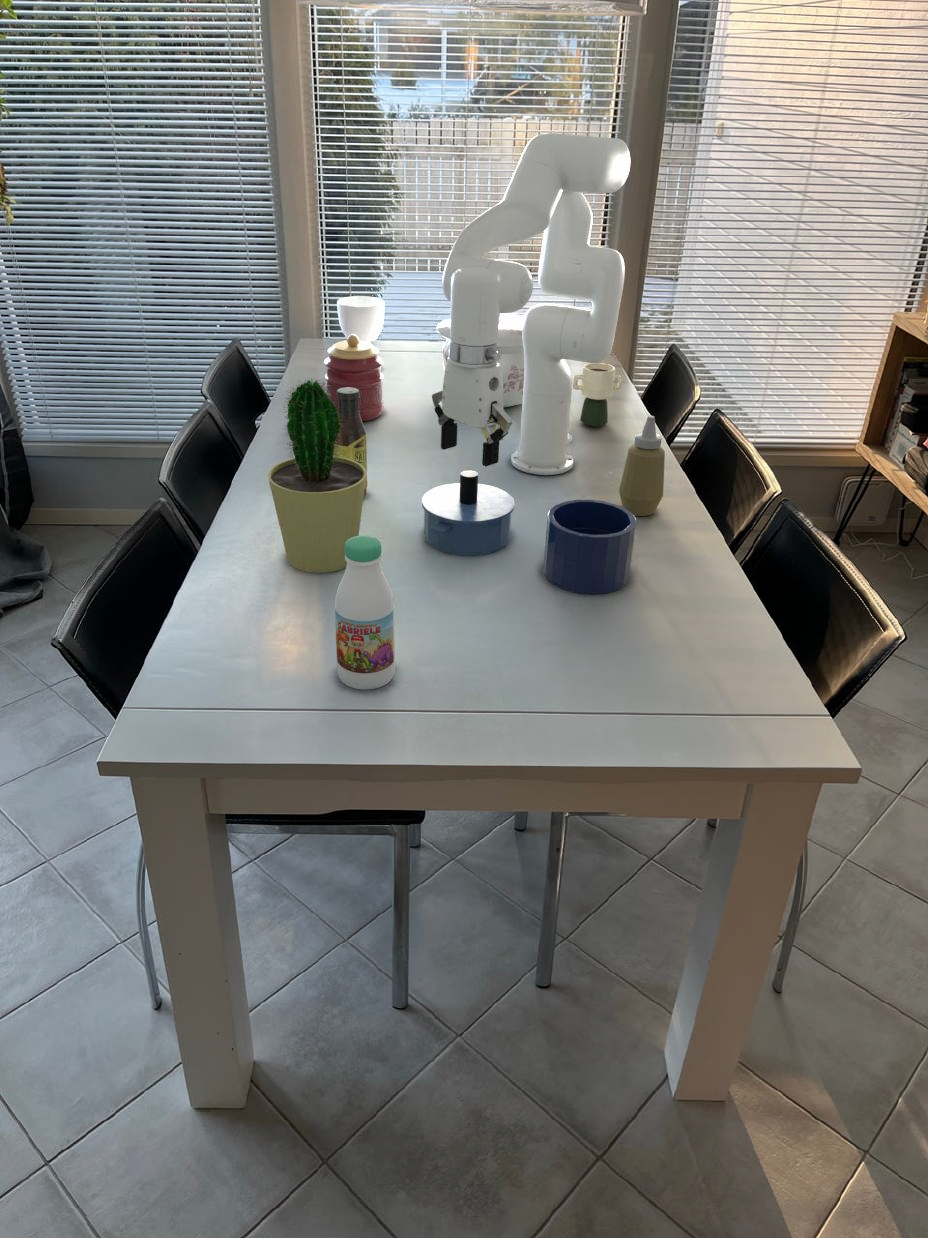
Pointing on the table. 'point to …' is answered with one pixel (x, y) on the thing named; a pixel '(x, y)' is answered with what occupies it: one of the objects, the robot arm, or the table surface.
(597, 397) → the trophy
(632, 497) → the squeeze bottle
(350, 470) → the potted cactus
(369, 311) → the cup
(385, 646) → the milk bottle
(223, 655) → the table surface
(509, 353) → the chamber pot
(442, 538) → the pan
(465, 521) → the lid
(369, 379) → the kitchen canister
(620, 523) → the pot
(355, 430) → the sauce bottle
